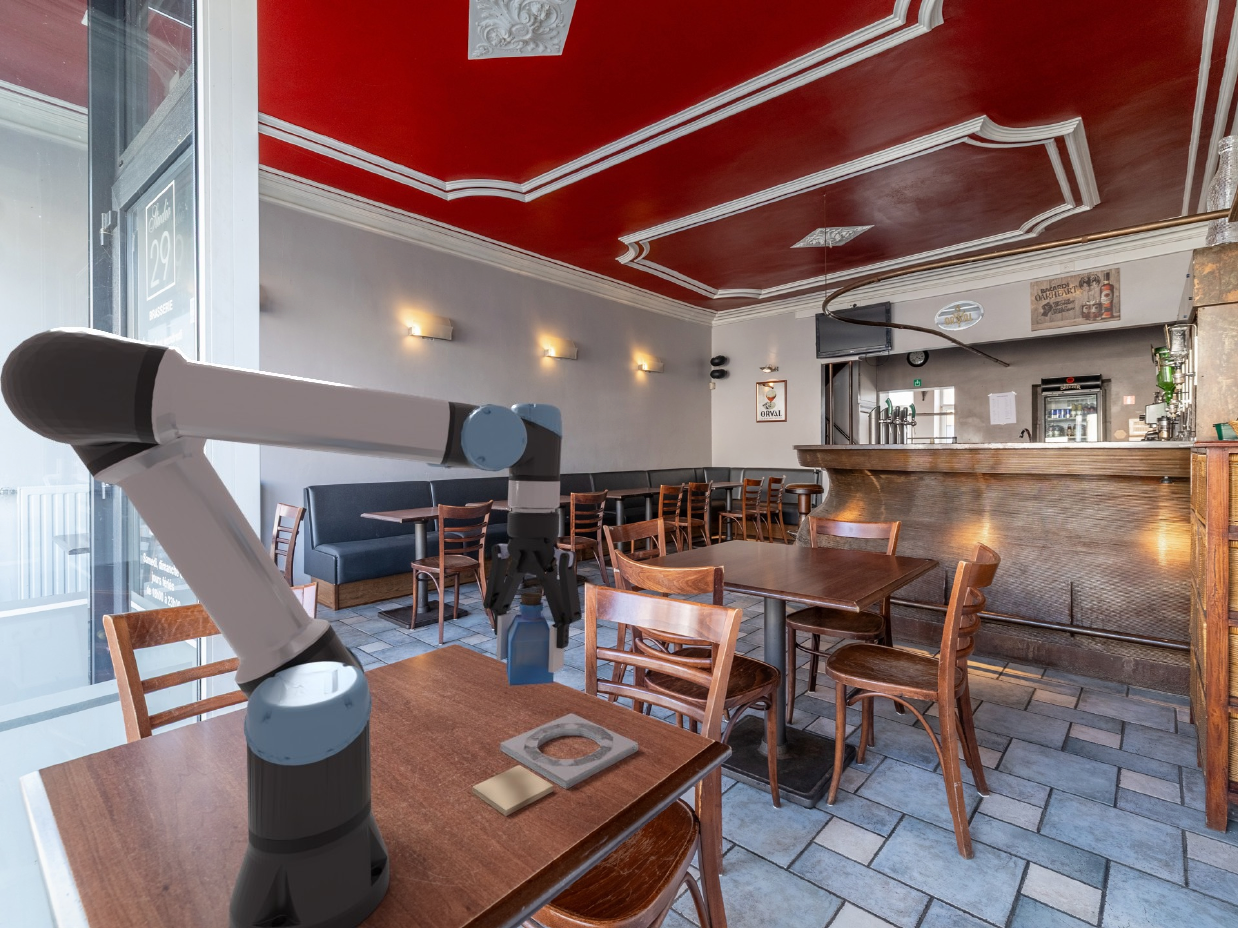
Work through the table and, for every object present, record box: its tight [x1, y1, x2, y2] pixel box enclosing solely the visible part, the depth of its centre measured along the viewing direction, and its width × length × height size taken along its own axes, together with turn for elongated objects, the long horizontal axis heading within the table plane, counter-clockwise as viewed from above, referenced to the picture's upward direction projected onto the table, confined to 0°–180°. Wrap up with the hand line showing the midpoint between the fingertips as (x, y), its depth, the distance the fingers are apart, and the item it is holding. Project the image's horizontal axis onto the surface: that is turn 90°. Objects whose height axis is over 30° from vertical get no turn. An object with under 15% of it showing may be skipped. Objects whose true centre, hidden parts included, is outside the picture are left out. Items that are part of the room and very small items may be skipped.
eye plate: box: [500, 712, 639, 790], centre depth 95 cm, size 15×16×1 cm
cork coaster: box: [471, 764, 554, 817], centre depth 83 cm, size 8×8×1 cm
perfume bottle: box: [506, 592, 555, 687], centre depth 87 cm, size 6×6×12 cm
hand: (529, 663), depth 87 cm, fingers closed on perfume bottle, 9 cm apart
